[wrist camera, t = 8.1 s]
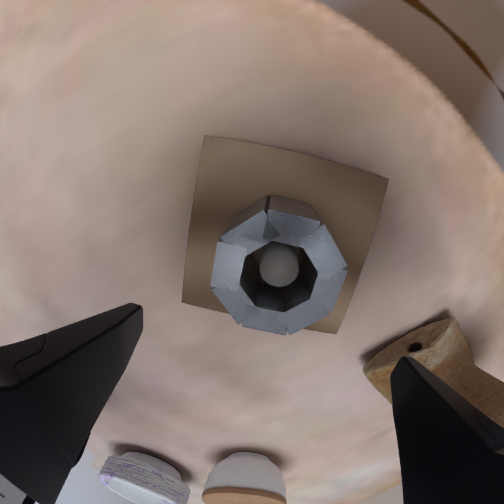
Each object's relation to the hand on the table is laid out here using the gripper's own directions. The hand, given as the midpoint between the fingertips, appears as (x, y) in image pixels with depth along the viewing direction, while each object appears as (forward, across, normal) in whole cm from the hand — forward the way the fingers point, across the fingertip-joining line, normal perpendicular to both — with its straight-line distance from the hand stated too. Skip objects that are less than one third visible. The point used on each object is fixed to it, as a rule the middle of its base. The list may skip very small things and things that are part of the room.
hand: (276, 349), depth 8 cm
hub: (+10, 0, 0) cm, 10 cm away
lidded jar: (+12, -4, +32) cm, 34 cm away
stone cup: (+12, -19, +9) cm, 24 cm away
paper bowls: (+12, +11, +44) cm, 47 cm away
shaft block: (+12, 0, 0) cm, 12 cm away
